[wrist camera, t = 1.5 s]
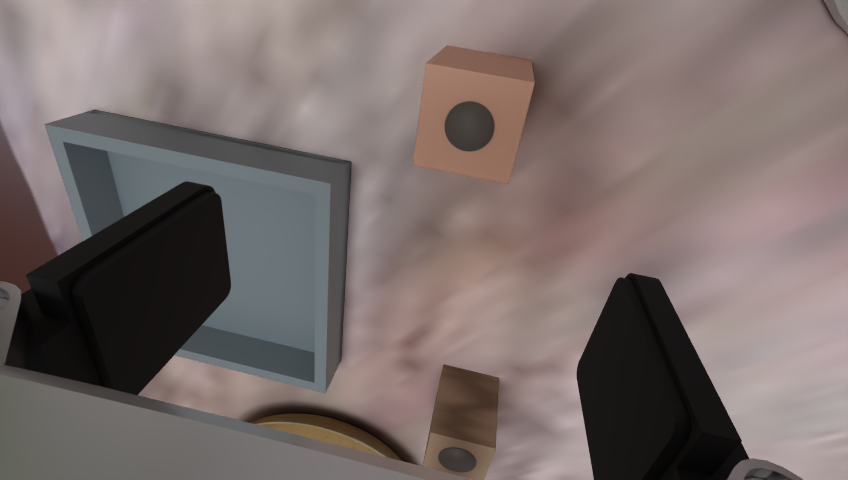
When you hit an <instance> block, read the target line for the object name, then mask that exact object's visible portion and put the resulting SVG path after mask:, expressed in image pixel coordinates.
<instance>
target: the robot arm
mask: <svg viewBox="0 0 848 480" xmlns="http://www.w3.org/2000/svg"><path fill="white" fill-rule="evenodd" d="M824 2H825V4H826V5H827V7H828V9H829V11H830V13H831V15H832V17H833V18H834V20H835V22H836V23H837V24H838V25H839V26H840V27H841V28H842V29H843V30H844V31H845V32H846V33H847V34H848V0H824ZM26 276H27V279H28V281H29V283H30V286H31V289H30V290H28V291H26V292H25V293H23V294H22V292H21V290H19V289H18V288H17V287H16V286H15V285H12V284H9V283H6V282H0V480H473V479H470V478H466V477H462V476H458V475H454V474H450V473H446V472H442V471H438V470H434V469H430V468H427V467H423V466H419V465H415V464H411V463H407V462H403V461H399V460H395V459H391V458H387V457H384V456H380V455H376V454H372V453H368V452H364V451H360V450H356V449H352V448H348V447H344V446H340V445H336V444H332V443H328V442H324V441H320V440H316V439H312V438H308V437H304V436H300V435H296V434H292V433H288V432H284V431H280V430H276V429H272V428H268V427H264V426H260V425H256V424H252V423H248V422H244V421H240V420H236V419H232V418H228V417H224V416H220V415H215V414H211V413H207V412H203V411H199V410H195V409H191V408H187V407H183V406H179V405H175V404H170V403H166V402H162V401H158V400H154V399H150V398H146V397H142V396H138V394H139V393H140V392H141V391H142V390H143V388H144V387H145V386H146V385H147V384H148V383H149V382H150V381H151V380H152V379H153V378H154V376H155V375H156V374H157V373H158V372H159V371H160V370H161V369H162V368H163V367H164V366H165V365H166V363H167V362H168V361H169V360H170V359H171V358H172V357H173V356H174V355H175V354H176V353H177V351H178V350H179V349H180V348H181V347H182V346H183V345H184V344H185V343H186V342H187V341H188V339H189V338H190V337H191V336H192V335H193V334H194V333H195V332H196V331H197V330H198V329H199V328H200V326H201V325H202V324H203V323H204V322H205V321H206V320H207V319H208V318H209V317H210V316H211V314H212V313H213V312H214V311H215V310H216V309H217V308H218V307H219V306H220V305H221V304H222V302H223V301H224V300H225V299H226V298H227V297H228V295H229V293H230V290H231V277H230V269H229V260H228V252H227V243H226V235H225V226H224V218H223V209H222V201H221V197H220V195H219V194H217V193H216V192H215V190H214V188H213V187H211V186H208V185H203V184H198V183H194V182H188V181H185V182H183V183H181V184H179V185H177V186H176V187H174V188H172V189H171V190H169V191H167V192H165V193H164V194H162V195H160V196H159V197H157V198H155V199H154V200H152V201H150V202H149V203H147V204H145V205H143V206H142V207H140V208H138V209H137V210H135V211H133V212H132V213H130V214H128V215H127V216H125V217H123V218H121V219H120V220H118V221H116V222H115V223H113V224H111V225H110V226H108V227H106V228H105V229H103V230H101V231H99V232H98V233H96V234H94V235H93V236H91V237H89V238H88V239H86V240H84V241H82V242H81V243H79V244H77V245H76V246H74V247H72V248H71V249H69V250H67V251H66V252H64V253H62V254H60V255H59V256H57V257H55V258H54V259H52V260H50V261H49V262H47V263H45V264H44V265H42V266H40V267H38V268H37V269H35V270H33V271H32V272H30V273H28V274H27V275H26ZM577 382H578V388H579V393H580V399H581V405H582V411H583V417H584V423H585V429H586V435H587V441H588V447H589V452H590V458H591V464H592V470H593V476H594V480H803V479H801V478H800V477H798V476H797V475H795V474H793V473H792V472H790V471H788V470H787V469H785V468H783V467H781V466H779V465H776V464H774V463H771V462H769V461H765V460H759V459H749V457H748V455H747V453H746V451H745V449H744V447H743V445H742V443H741V442H742V440H741V439H740V437H739V435H738V433H737V431H736V429H735V427H734V425H733V423H732V421H731V419H730V417H729V415H728V413H727V411H726V409H725V407H724V405H723V403H722V401H721V399H720V397H719V395H718V393H717V392H716V390H715V388H714V386H713V384H712V382H711V380H710V378H709V376H708V374H707V372H706V370H705V368H704V366H703V364H702V362H701V360H700V358H699V356H698V354H697V352H696V350H695V348H694V346H693V345H692V343H691V341H690V339H689V337H688V335H687V333H686V331H685V329H684V327H683V325H682V323H681V321H680V319H679V317H678V315H677V313H676V311H675V309H674V307H673V305H672V303H671V301H670V299H669V298H668V296H667V294H666V292H665V290H664V288H663V286H662V284H661V282H660V281H659V279H656V278H652V277H647V276H642V275H637V274H633V273H630V274H628V275H627V276H626V278H618V279H617V280H616V282H615V284H614V286H613V289H612V291H611V293H610V295H609V297H608V300H607V302H606V304H605V306H604V308H603V310H602V313H601V315H600V317H599V319H598V321H597V324H596V326H595V328H594V330H593V332H592V335H591V337H590V339H589V341H588V343H587V345H586V348H585V350H584V352H583V354H582V356H581V359H580V361H579V363H578V367H577Z"/></svg>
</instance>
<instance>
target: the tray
mask: <svg viewBox="0 0 848 480" xmlns="http://www.w3.org/2000/svg"><path fill="white" fill-rule="evenodd" d="M45 127H46V130H47V133H48V136H49V140H50V143H51V146H52V149H53V152H54V155H55V158H56V161H57V164H58V167H59V170H60V173H61V176H62V179H63V182H64V185H65V188H66V191H67V194H68V197H69V201H70V204H71V207H72V210H73V213H74V216H75V219H76V222H77V225H78V228H79V231H80V234H81V237H82V240H83V241H84V240H86V239H88V238H89V237H91V236H93V235H94V234H96V233H98V232H99V231H101V230H103V229H105V228H106V227H108V226H110V225H111V224H113V223H115V222H116V221H118V220H120V219H121V218H123V217H125V216H127V215H128V214H130V213H132V212H133V211H135V210H137V209H138V208H140V207H142V206H143V205H145V204H147V203H149V202H150V201H152V200H154V199H155V198H157V197H159V196H160V195H162V194H164V193H165V192H167V191H169V190H171V189H172V188H174V187H176V186H177V185H179V184H181V183H183V182H185V181H188V182H194V183H198V184H203V185H208V186H211V187H213V188H214V190H215V192H216V193H217V194H219V195H220V197H221V201H222V209H223V218H224V226H225V235H226V243H227V252H228V260H229V269H230V277H231V290H230V293H229V295H228V297H227V298H226V299H225V300H224V301H223V302H222V304H221V305H220V306H219V307H218V308H217V309H216V310H215V311H214V312H213V313H212V314H211V316H210V317H209V318H208V319H207V320H206V321H205V322H204V323H203V324H202V325H201V326H200V328H199V329H198V330H197V331H196V332H195V333H194V334H193V335H192V336H191V337H190V338H189V339H188V341H187V342H186V343H185V344H184V345H183V346H182V347H181V348H180V349H179V350H178V351H177V353H176V354H175V356H179V357H183V358H187V359H191V360H195V361H199V362H203V363H207V364H211V365H215V366H219V367H223V368H227V369H231V370H235V371H239V372H243V373H247V374H251V375H255V376H259V377H263V378H267V379H271V380H275V381H279V382H283V383H287V384H291V385H295V386H299V387H303V388H306V389H310V390H314V391H318V392H322V393H326V391H327V389H328V387H329V385H330V383H331V380H332V378H333V376H334V374H335V372H336V370H337V368H338V366H339V363H340V361H341V356H342V336H343V316H344V296H345V276H346V257H347V237H348V217H349V197H350V178H351V162H350V161H345V160H340V159H335V158H330V157H325V156H320V155H315V154H310V153H305V152H300V151H295V150H291V149H286V148H281V147H276V146H271V145H266V144H261V143H256V142H251V141H246V140H241V139H236V138H231V137H226V136H221V135H216V134H211V133H206V132H202V131H197V130H192V129H187V128H182V127H177V126H172V125H167V124H162V123H157V122H152V121H147V120H142V119H137V118H132V117H127V116H122V115H117V114H113V113H108V112H103V111H98V110H92V111H88V112H85V113H81V114H78V115H75V116H71V117H68V118H64V119H61V120H57V121H54V122H51V123H47V124H45Z"/></svg>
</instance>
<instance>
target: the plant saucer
mask: <svg viewBox="0 0 848 480" xmlns="http://www.w3.org/2000/svg"><path fill="white" fill-rule="evenodd" d="M250 423H252V424H256V425H260V426H264V427H268V428H272V429H276V430H280V431H284V432H288V433H292V434H296V435H300V436H304V437H308V438H312V439H316V440H320V441H324V442H328V443H332V444H336V445H340V446H344V447H348V448H352V449H356V450H360V451H364V452H368V453H372V454H376V455H380V456H384V457H387V458H391V459H395V460H399V461H402V460H401V459H400V458H399V457H398V456H397V455H396V454H395V453H394V452H393V451H392V450H391V449H390V448H388V447H387V446H386V445H385V444H383V443H382V442H381V441H379V440H378V439H376V438H375V437H373V436H372V435H370V434H368V433H367V432H365V431H363V430H361V429H359V428H357V427H355V426H352V425H350V424H348V423H345V422H342V421H339V420H336V419H333V418H329V417H324V416H318V415H312V414H280V415H273V416H268V417H264V418H261V419H258V420H255V421H252V422H250Z"/></svg>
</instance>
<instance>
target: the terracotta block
mask: <svg viewBox="0 0 848 480" xmlns="http://www.w3.org/2000/svg"><path fill="white" fill-rule="evenodd" d="M534 84H535V80H534V74H533V69H532V63H531V60H528V59H522V58H516V57H511V56H505V55H499V54H493V53H488V52H482V51H476V50H470V49H465V48H459V47H453V46H446V47H445V48H444V49H442V50H441V51H440V52H439V53H438V54H436V55H435V56H434V57H433V58H432V59H430V60H429V61H428V62H427V63H426V67H425V75H424V83H423V90H422V98H421V106H420V114H419V121H418V129H417V137H416V144H415V152H414V160H413V165H415V166H420V167H425V168H430V169H435V170H440V171H445V172H450V173H455V174H460V175H465V176H470V177H475V178H480V179H485V180H490V181H495V182H500V183H505V184H509V181H510V177H511V173H512V169H513V165H514V161H515V157H516V154H517V150H518V146H519V142H520V138H521V134H522V130H523V127H524V123H525V119H526V115H527V111H528V107H529V103H530V100H531V96H532V92H533V88H534Z"/></svg>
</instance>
